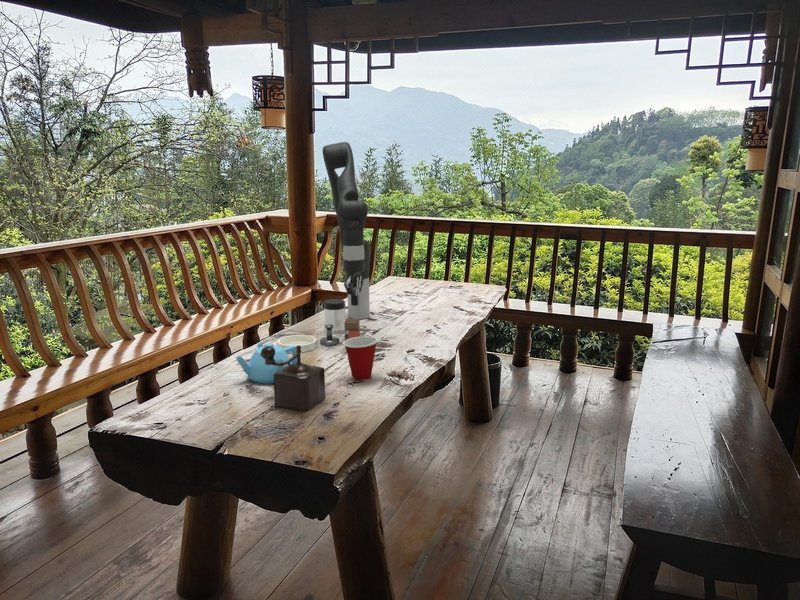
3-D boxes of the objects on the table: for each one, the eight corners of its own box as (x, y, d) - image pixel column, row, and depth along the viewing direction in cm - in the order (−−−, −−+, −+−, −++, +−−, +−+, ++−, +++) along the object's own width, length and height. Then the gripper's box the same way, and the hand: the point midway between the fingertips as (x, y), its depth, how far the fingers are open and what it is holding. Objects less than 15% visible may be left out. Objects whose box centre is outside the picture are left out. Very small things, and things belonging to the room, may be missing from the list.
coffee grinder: (293, 392, 172) (290, 332, 168) (326, 398, 168) (324, 337, 164) (260, 413, 158) (256, 348, 154) (295, 419, 154) (292, 353, 150)
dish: (272, 344, 218) (272, 337, 217) (309, 339, 224) (309, 333, 223) (283, 355, 205) (283, 348, 205) (322, 349, 212) (322, 342, 211)
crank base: (317, 342, 221) (316, 324, 219) (335, 339, 224) (334, 322, 222) (323, 347, 215) (323, 329, 213) (342, 344, 218) (341, 326, 216)
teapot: (282, 388, 175) (280, 353, 173) (236, 384, 179) (233, 349, 177) (303, 371, 190) (302, 339, 187) (260, 367, 194) (258, 335, 191)
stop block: (346, 336, 228) (346, 319, 226) (359, 336, 227) (359, 319, 226) (344, 340, 223) (344, 322, 221) (358, 340, 223) (357, 322, 221)
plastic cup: (348, 370, 190) (347, 334, 188) (381, 372, 189) (381, 335, 186) (339, 382, 180) (338, 344, 177) (374, 384, 178) (373, 345, 176)
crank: (333, 341, 218) (333, 331, 218) (333, 340, 220) (333, 330, 219) (359, 340, 220) (359, 330, 219) (359, 339, 221) (359, 329, 220)
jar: (329, 335, 230) (328, 304, 227) (320, 330, 237) (319, 300, 234) (350, 331, 235) (349, 301, 232) (340, 326, 241) (339, 297, 239)
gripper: (351, 254, 218) (352, 300, 222) (336, 260, 206) (337, 308, 210) (370, 255, 216) (371, 301, 220) (356, 261, 204) (357, 310, 208)
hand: (354, 305), depth 215 cm, fingers closed
